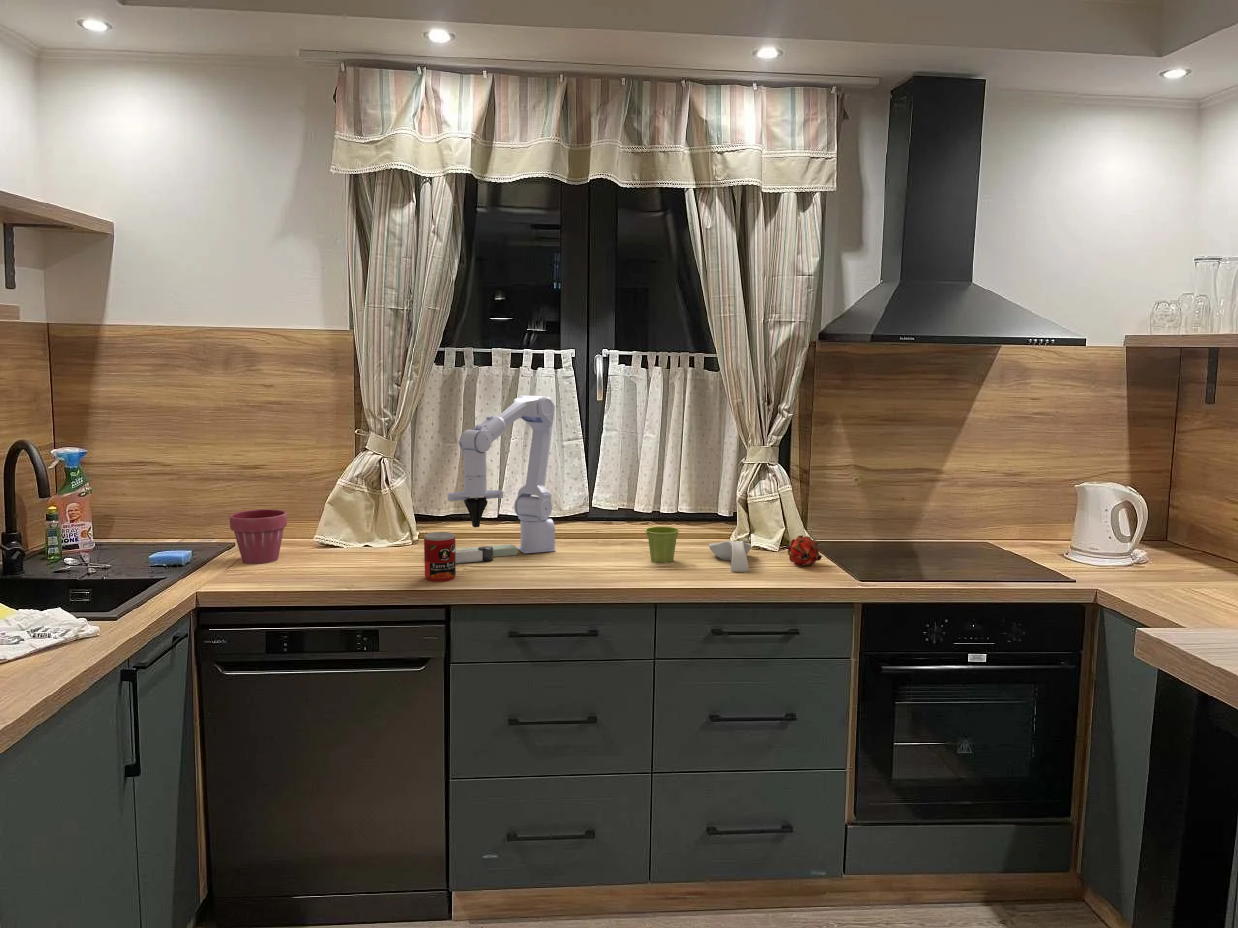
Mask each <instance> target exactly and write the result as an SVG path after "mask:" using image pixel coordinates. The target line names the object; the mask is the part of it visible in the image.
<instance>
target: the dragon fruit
mask: <svg viewBox="0 0 1238 928" xmlns="http://www.w3.org/2000/svg"><path fill="white" fill-rule="evenodd" d="M788 545H789V547H788V548H787V555H788V556H789V561H790V563H793V564H794V565H795V566H796V567H798V568H803V567H805V565H807V566H814V564H815V563H817V562H818V561H821V559H822V558H823V556H822V555H821V554H820V551H821V549H820V548H819V546H818V545H819V542H818V541H817V540H815V539H812V538H811V536H809V535H808V536H807V535H806V536H805V535H801V534H800V535H798V536H797V537H796V538H793V539H792V540H790V542H789V544H788Z"/></svg>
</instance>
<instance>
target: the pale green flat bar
mask: <svg viewBox="0 0 1238 928" xmlns="http://www.w3.org/2000/svg"><path fill="white" fill-rule="evenodd" d="M483 546H484V545H483ZM483 546H481V547H483ZM489 546H490V547H493V558H497V557H506V556H507V557H508V556H517V555H518V549H517V547H518V546H515V545H514V544H513V543H509V544H507V543H506V544H498V545H497V544H496V545H495V544H493V545H489ZM479 547H480V546H472V547H470V546H469V547H459V548H455V549H456V550H468V549H478V548H479Z"/></svg>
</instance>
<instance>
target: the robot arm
mask: <svg viewBox="0 0 1238 928" xmlns="http://www.w3.org/2000/svg"><path fill="white" fill-rule="evenodd" d="M555 410H556V405H555V403H554V401H553V399H551V397H550V396H548V395H543V396H541V395H527V394H521V395H519V396H517V398H514V399H513V402H512V404H510V405H509V406H508V407H507V408H506V409H505V410H504V411H502V412H501V413H500V414H499V415H487V416H486V417H485V420H483V421H482V422H481V423H479V424H475V426H474V427H473V429H466V430H465V431H463V432H462V433H461V435H460V438H459V440H458V445H459V448H460V450H461V452H462V453H461V455H462V457H463V467H464V468H463V470H464V473H463V475H464V477H463V479H464V480H463V481H464V490H463V491H459V492H458V491H457V492H449V493H447V501H448V502H457V501H463V503H464V505H465V507H466V509H467V511H468V514H469V517H470V520H471V523H472V524H471V525H472V527H473V528H480V526H481V525H480V524H481V520H482V517H483V513H484V511H485V509H486V507H487V506H488V502H489V501H488V499H504V491H503V490H502V489H499V490H496V489H495V490H488V489H487V452H488V451H489V450H490V448H491V446H492V443H493V442H494V441H496V440H497V439H498V438H500V437H501V436H502V435H503V434H505V432H506V428H507V427H508V426H509V425H510V424H513V423H514V422H515V421H517V420H519V419H521V420H523V421H524V422H525V423H526V424H527V425H529V427H530V428H531V430H532V434H531V435H532V436H531V443H530V450H529V456H528V457H529V458H528V465H527V473H526V480H525V484H524V485H523V486H522V487H521V488H519V489H518V492H517V496H516V498H515V500H514V505H513V510H514V512H515V514H516V516H517V517H518V520H520V526H519V527H520V546H516V547H517V551H518V550H519V551H520V552H522V553H523V554H535V553H546V552H556V526H555V522H554V520H553V519H552V518H549V517H550V516H551V514H552V511H553V505H552V504H553V503H552V493H551V492H550V491H549V490H548V489H547V488H546V479H547V471H548V464H549V457H550V456H549V455H550V449H551V448H550V447H551V440H552V432H553V424H554V419H555V418H554V417H555Z"/></svg>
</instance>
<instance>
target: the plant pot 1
mask: <svg viewBox="0 0 1238 928" xmlns="http://www.w3.org/2000/svg"><path fill="white" fill-rule="evenodd" d="M287 526H288V515H287V511H285V510H282V509H273V508H272V509H271V508H270V509H269V508H265V509H264V508H263V509H261V508H260V509H250V510H249V509H248V510H242V511H238V512H234V513H232V514H230V516H229V528H230V530H231V531H233V533H234V536H235V540H236V543H237V548H238V550H239V554H240V557H241V561H242V563H245V564H255V565H258V564H267V563H271V562H272V563H273V562H275V561H277V560H278V559H279V556H280V550H281V546H282V540H283V535H284V529H285V528H286V527H287Z"/></svg>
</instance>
